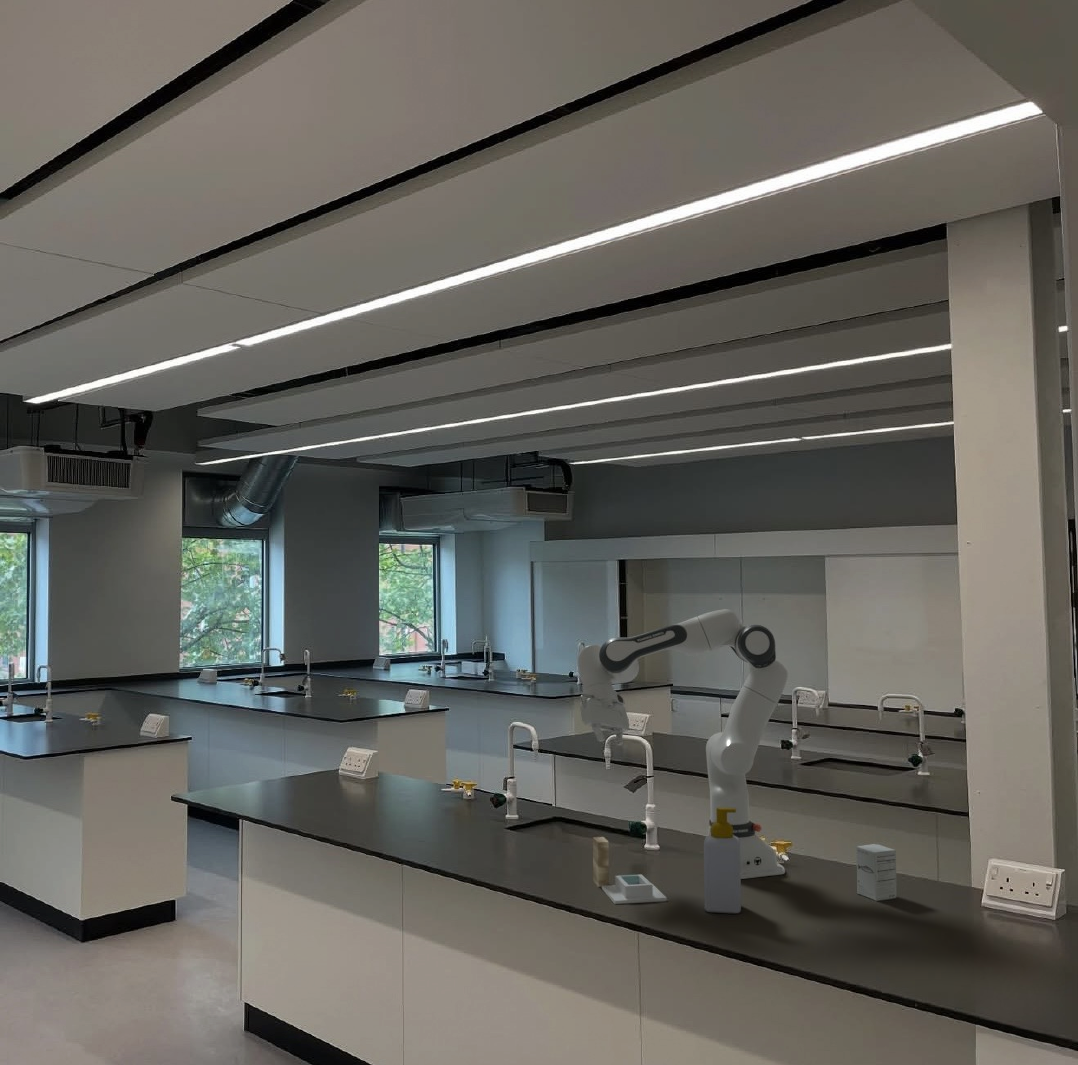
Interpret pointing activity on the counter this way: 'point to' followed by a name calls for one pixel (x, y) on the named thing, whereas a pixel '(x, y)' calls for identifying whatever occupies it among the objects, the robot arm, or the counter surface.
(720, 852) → the soap bottle
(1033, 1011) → the counter surface
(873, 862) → the supplement box
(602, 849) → the wooden block
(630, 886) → the white square socket base
